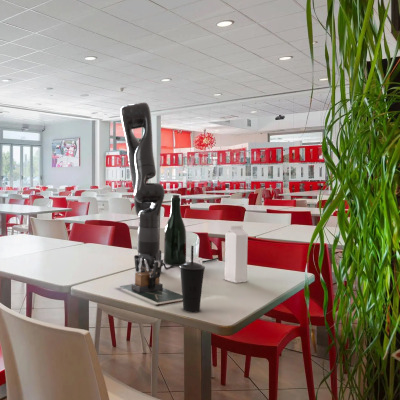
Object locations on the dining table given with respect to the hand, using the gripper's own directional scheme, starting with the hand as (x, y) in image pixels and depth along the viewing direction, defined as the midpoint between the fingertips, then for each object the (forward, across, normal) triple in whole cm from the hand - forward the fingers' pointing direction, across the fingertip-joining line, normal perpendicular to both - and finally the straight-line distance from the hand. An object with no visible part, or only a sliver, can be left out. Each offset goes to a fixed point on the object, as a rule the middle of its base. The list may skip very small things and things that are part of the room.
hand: (147, 286), depth 150 cm
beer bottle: (+3, +37, -43) cm, 56 cm away
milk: (+2, -1, -42) cm, 42 cm away
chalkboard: (+2, -3, 0) cm, 3 cm away
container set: (+3, +16, -35) cm, 38 cm away
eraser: (+1, 0, 0) cm, 1 cm away
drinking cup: (+2, -23, 0) cm, 23 cm away
